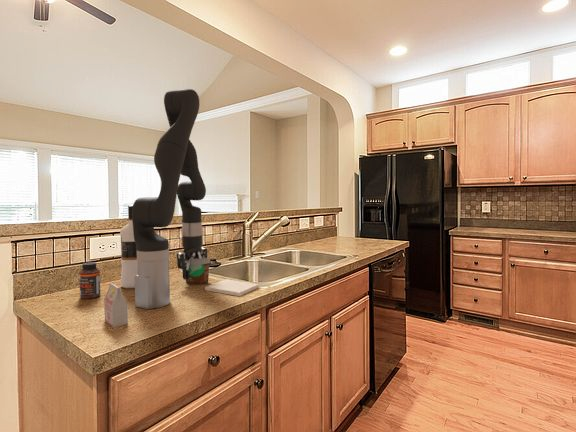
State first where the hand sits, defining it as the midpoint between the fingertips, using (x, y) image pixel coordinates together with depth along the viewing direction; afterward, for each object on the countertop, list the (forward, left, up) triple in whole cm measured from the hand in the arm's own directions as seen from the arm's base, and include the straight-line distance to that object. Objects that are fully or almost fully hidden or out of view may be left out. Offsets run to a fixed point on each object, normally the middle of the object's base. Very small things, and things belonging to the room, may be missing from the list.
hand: (193, 277), depth 130 cm
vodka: (-13, +17, -2) cm, 22 cm away
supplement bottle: (-29, +18, -2) cm, 34 cm away
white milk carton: (-39, -10, -3) cm, 40 cm away
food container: (0, 0, -2) cm, 2 cm away
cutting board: (+1, -18, -2) cm, 18 cm away
